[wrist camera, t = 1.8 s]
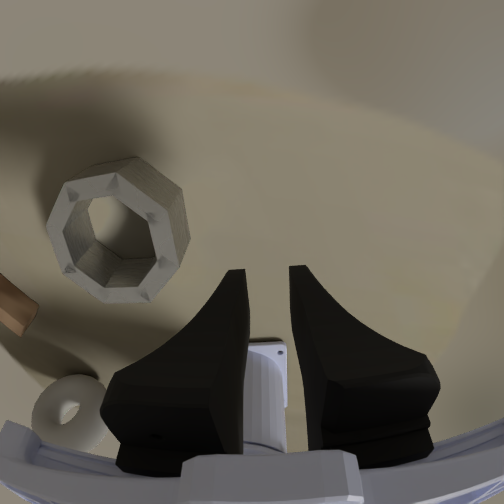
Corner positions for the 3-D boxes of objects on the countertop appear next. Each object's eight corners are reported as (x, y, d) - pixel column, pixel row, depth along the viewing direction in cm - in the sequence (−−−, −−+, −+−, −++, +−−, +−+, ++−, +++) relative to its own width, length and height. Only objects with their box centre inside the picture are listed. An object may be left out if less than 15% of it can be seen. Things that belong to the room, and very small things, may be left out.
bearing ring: (196, 270, 22) (187, 301, 19) (94, 275, 22) (75, 303, 19) (175, 151, 18) (159, 165, 15) (63, 172, 18) (34, 189, 15)
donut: (62, 387, 30) (33, 454, 22) (46, 367, 29) (12, 436, 20) (130, 388, 29) (105, 471, 20) (114, 366, 28) (82, 453, 19)
